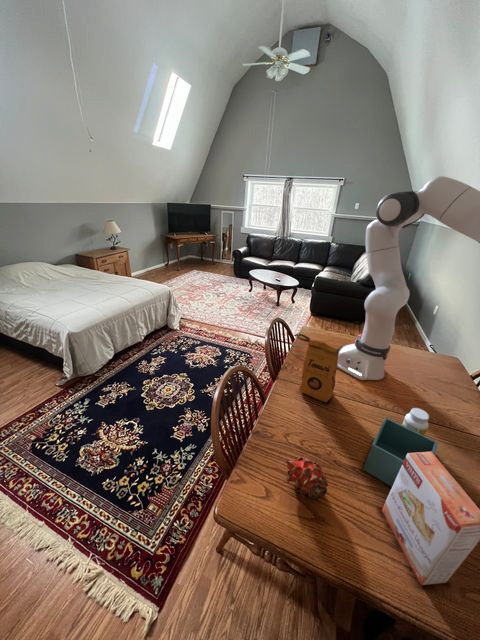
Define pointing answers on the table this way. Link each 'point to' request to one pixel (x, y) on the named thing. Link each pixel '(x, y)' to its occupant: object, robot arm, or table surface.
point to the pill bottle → (416, 421)
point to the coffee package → (319, 370)
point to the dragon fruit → (307, 477)
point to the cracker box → (431, 518)
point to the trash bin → (394, 450)
